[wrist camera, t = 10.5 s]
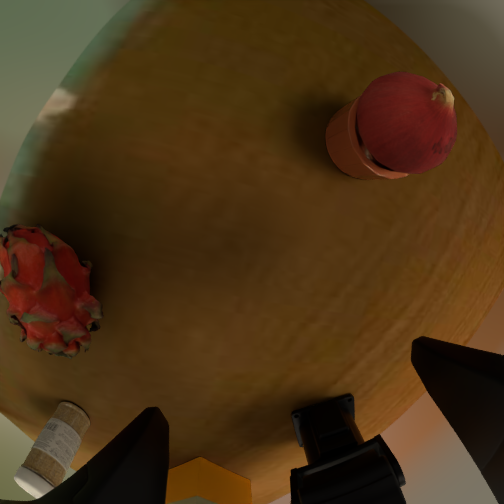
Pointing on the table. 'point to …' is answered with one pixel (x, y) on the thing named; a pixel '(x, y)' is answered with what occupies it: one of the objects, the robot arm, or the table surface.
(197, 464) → the orange juice
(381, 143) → the onion
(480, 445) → the robot arm
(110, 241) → the table surface
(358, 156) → the cup
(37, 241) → the dragon fruit
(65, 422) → the sprinkles bottle
